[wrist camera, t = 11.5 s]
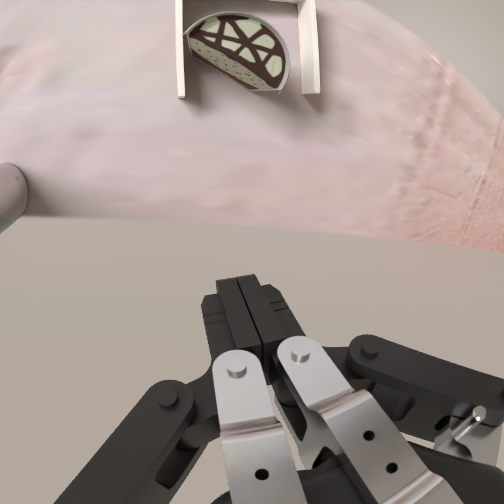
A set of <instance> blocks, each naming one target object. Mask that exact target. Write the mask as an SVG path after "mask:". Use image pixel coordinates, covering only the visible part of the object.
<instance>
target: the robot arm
mask: <svg viewBox="0 0 504 504" xmlns="http://www.w3.org/2000/svg"><path fill="white" fill-rule="evenodd" d="M27 202H28V188H27V183H26V180H25V178H24V176H23V174H22V172H21V171H20V170H19V169H18V168H17V167H16V166H14V165H12V164H9V163H4V164H1V165H0V234H1V233H2V232H3V231H4V230H5V229H7V228H8V227H9V226H10V225H11V224H12V223H13V222H14V221H16V220H17V219H18V218H19V217H20V216H21V215H22V214H23V212H24V211H25V209H26V206H27ZM216 287H217V294H212V295H206V296H205V297H204V299H203V302H202V304H201V308H202V313H203V319H204V324H205V329H206V335H207V340H208V344H209V349H210V354H211V358H212V361H211V365H210V367H209V369H208V371H207V372H206V373H205V374H204V375H203V376H201V377H200V378H198V379H196V380H194V381H192V382H190V383H188V384H184V383H182V382H180V381H176V380H164V381H160V382H158V383H156V384H154V385H153V386H151V387H150V388H149V389H148V391H147V392H146V393H145V394H144V396H143V397H142V398H141V399H140V401H139V402H138V403H137V404H136V405H135V407H134V408H133V409H132V410H131V411H130V412H129V414H128V415H127V416H126V417H125V419H124V420H123V421H122V422H121V423H120V425H119V426H118V427H117V428H116V429H115V431H114V432H113V433H112V434H111V435H110V437H109V438H108V439H107V440H106V442H105V443H104V444H103V445H102V446H101V448H100V449H99V450H98V451H97V452H96V454H95V455H94V456H93V457H92V458H91V460H90V461H89V462H88V463H87V464H86V466H85V467H84V468H83V469H82V470H81V472H80V473H79V474H78V475H77V476H76V477H75V479H74V480H73V481H72V482H71V483H70V485H69V486H68V487H67V488H66V489H65V491H64V492H63V493H62V494H61V495H60V496H59V498H58V499H57V500H56V501H55V502H54V504H169V502H170V501H171V500H172V498H173V497H174V495H175V494H176V492H177V491H178V489H179V488H180V486H181V485H182V483H183V482H184V480H185V479H186V477H187V476H188V474H189V473H190V471H191V470H192V468H193V467H194V465H195V464H196V462H197V460H198V459H199V457H200V456H201V454H202V452H203V451H204V449H205V448H206V446H207V444H208V442H210V441H212V440H214V439H216V438H218V437H220V439H221V445H222V451H223V457H224V463H225V469H226V474H227V479H228V485H229V491H227V492H226V493H224V494H222V495H221V496H220V497H218V498H217V499H215V500H214V501H213V502H212V503H211V504H504V472H503V471H502V470H501V469H499V468H497V467H496V462H497V457H498V451H499V445H500V438H501V431H502V424H503V422H504V379H502V378H498V377H495V376H492V375H488V374H485V373H482V372H479V371H476V370H473V369H470V368H466V367H463V366H460V365H457V364H454V363H451V362H448V361H445V360H442V359H439V358H436V357H433V356H431V355H428V354H425V353H422V352H419V351H416V350H413V349H410V348H407V347H405V346H402V345H399V344H397V343H394V342H391V341H388V340H385V339H383V338H380V337H377V336H374V335H368V334H367V335H360V336H357V337H355V338H354V339H353V340H352V341H351V343H350V345H349V347H323V346H321V345H320V344H319V343H318V342H317V341H315V340H314V339H311V338H309V337H306V335H305V334H304V332H303V330H302V329H301V327H300V325H299V323H298V322H297V320H296V318H295V317H294V315H293V313H292V312H291V310H290V309H289V306H288V305H287V303H286V302H285V300H284V298H283V296H282V294H281V293H280V291H279V290H277V289H276V288H274V287H273V286H272V285H270V284H268V285H263V286H261V285H260V283H259V281H258V279H257V277H256V276H255V274H251V275H245V276H240V277H236V278H228V279H222V280H216ZM267 385H272V387H273V390H274V392H275V398H274V399H275V403H276V406H277V408H278V410H279V411H280V414H281V416H282V417H283V419H284V421H285V423H286V425H287V427H288V429H289V431H290V433H291V435H292V436H293V438H294V440H295V442H296V444H297V447H298V451H299V456H300V459H301V461H302V464H303V465H304V467H305V469H306V470H300V471H297V470H296V467H295V464H294V460H293V457H292V454H291V451H290V448H289V444H288V441H287V438H286V435H285V432H284V429H283V426H282V424H281V422H280V421H278V420H277V418H276V416H275V412H274V409H273V405H272V402H271V399H270V395H269V392H268V388H267ZM400 432H402V433H405V434H408V435H412V436H415V437H418V438H421V439H424V440H427V441H431V442H434V443H435V445H434V448H433V449H430V448H427V447H424V446H421V445H418V444H416V443H412V442H410V441H406V439H405V438H404V437H403V435H402V434H401V433H400Z"/></svg>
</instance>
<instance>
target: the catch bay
mask: <svg viewBox="0 0 504 504" xmlns="http://www.w3.org/2000/svg"><path fill="white" fill-rule="evenodd" d="M270 1H280V2H288V3H295V4H297V10H298V24H299V39H300V59H301V85H302V94H316V93H320V73H319V51H318V34H317V21H316V9H315V0H270ZM182 34H183V26H182V0H176V63H177V84H178V98H185V84H184V63H183V35H182Z"/></svg>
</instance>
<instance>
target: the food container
mask: <svg viewBox="0 0 504 504" xmlns="http://www.w3.org/2000/svg"><path fill="white" fill-rule="evenodd" d="M185 33H186V34H187V40H188V45H189V51H190V56H191V57H193V58H195V59H196V60H198V61H200V62H202V63H204V64H205V65H207V66H209V67H211V68H212V69H214V70H216V71H217V72H219V73H221V74H222V75H224V76H226V77H227V78H229V79H231V80H232V81H234V82H235V83H237V84H239V85H240V86H242V87H243V88H245V89H246V90H248V91H249V92H251V91H279V92H278V94H279V93H280V92H281V91H282V90H283V88H284V86H285V84H286V82H287V80H288V76H289V72H290V55H289V51H288V48H287V45H286V43H285V41H284V39H283V38H282V36H281V35H280V33H279V32H278V31H277V30H276V29H275V28H274V27H273V26H272V25H270V24H269V23H268V22H266V21H265V20H263V19H261V18H259V17H257V16H254V15H252V14H248V13H243V12H234V11H230V12H220V13H215V14H212V15H209V16H206V17H204V18H202V19H200V20H198V21H197V22H195V23H194V24H193V25H191V26H190V27H189V28H188V29H187V30H186V31H185V32H184V33H183V34H182V35H184V34H185Z"/></svg>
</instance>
